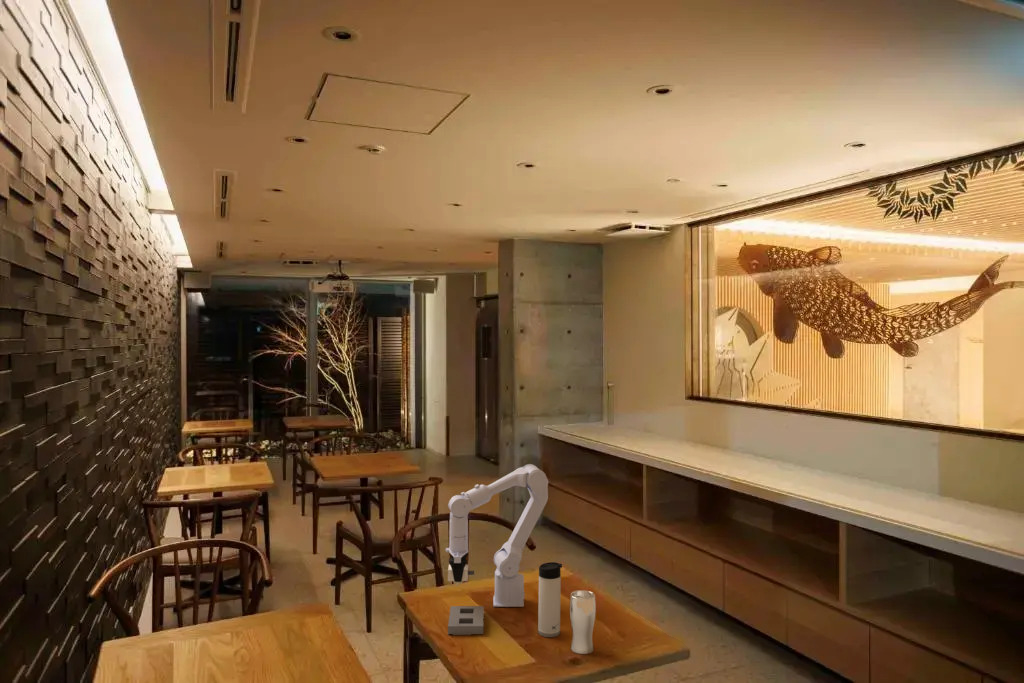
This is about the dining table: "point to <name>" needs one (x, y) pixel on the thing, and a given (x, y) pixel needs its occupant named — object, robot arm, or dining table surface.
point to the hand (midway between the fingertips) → (458, 578)
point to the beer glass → (582, 620)
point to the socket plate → (466, 620)
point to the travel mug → (549, 599)
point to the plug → (464, 577)
